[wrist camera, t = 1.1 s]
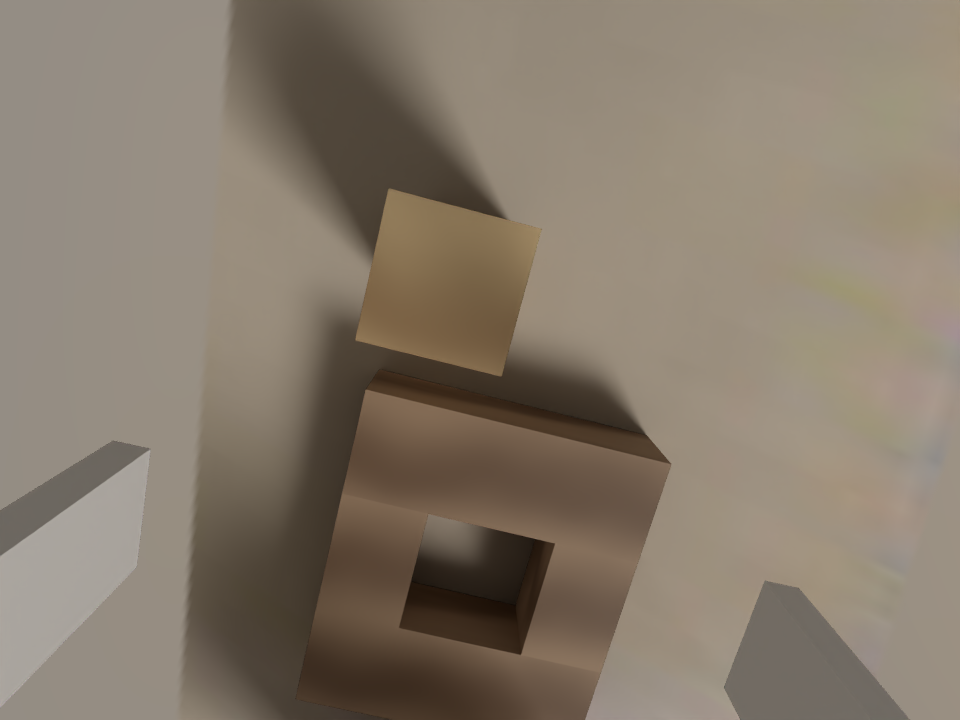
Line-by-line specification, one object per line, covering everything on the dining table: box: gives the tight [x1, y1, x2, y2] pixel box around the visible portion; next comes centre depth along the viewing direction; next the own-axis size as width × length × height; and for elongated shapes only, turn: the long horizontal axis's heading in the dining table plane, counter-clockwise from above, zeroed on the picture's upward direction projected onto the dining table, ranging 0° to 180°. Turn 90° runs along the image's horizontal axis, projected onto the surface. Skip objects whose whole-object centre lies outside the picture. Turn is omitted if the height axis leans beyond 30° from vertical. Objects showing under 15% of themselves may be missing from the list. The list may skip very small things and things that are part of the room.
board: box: [295, 369, 671, 720], centre depth 31 cm, size 16×14×4 cm
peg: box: [355, 188, 542, 377], centre depth 24 cm, size 5×5×12 cm
